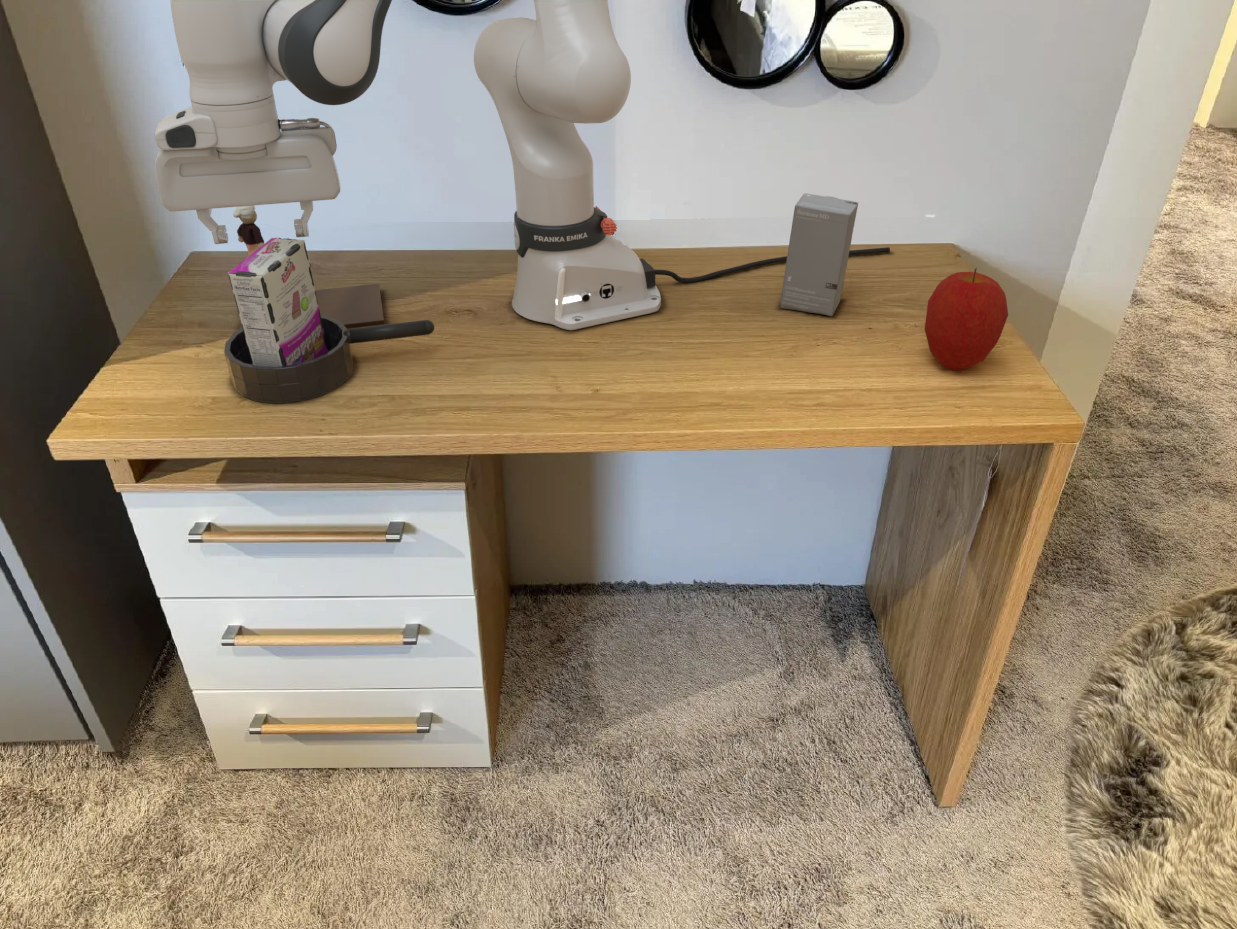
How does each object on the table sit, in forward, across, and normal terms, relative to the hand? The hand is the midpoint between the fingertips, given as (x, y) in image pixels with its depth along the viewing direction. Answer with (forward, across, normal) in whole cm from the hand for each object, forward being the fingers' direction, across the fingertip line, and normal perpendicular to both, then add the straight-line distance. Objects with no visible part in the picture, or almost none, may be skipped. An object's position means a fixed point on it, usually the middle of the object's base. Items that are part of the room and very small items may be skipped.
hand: (262, 238), depth 117 cm
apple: (+18, -87, +20) cm, 91 cm away
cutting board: (+19, -3, -17) cm, 25 cm away
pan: (+19, 0, 0) cm, 19 cm away
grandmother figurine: (+19, +5, -33) cm, 38 cm away
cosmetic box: (+18, -76, -2) cm, 78 cm away
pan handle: (+15, -13, 0) cm, 20 cm away
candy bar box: (+19, 0, 0) cm, 19 cm away
